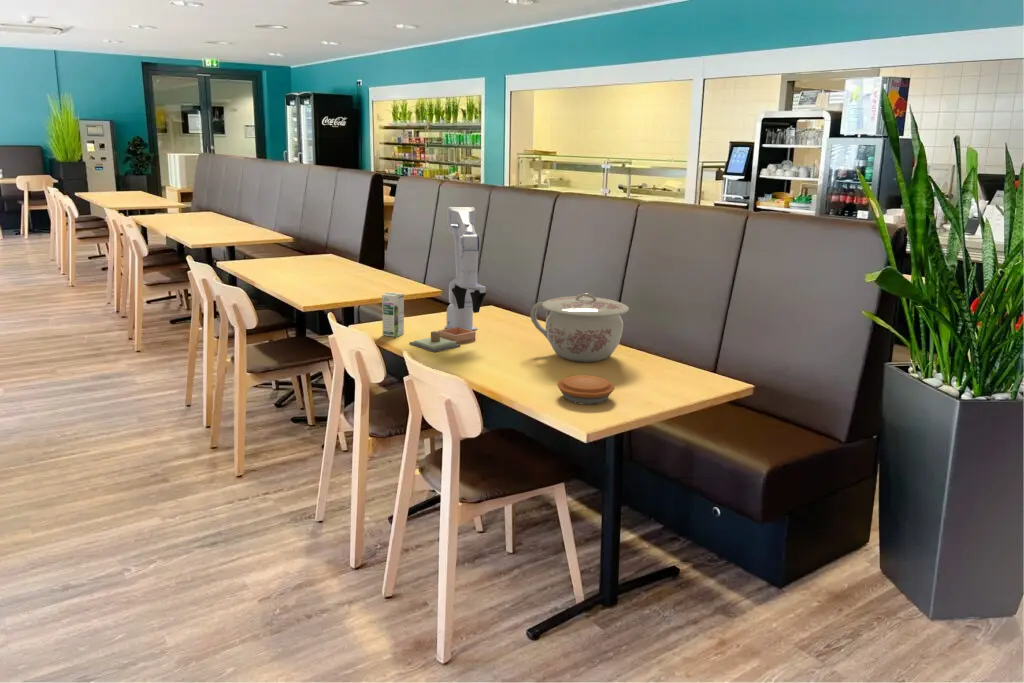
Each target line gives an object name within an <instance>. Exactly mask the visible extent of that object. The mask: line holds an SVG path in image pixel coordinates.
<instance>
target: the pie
mask: <svg viewBox="0 0 1024 683" xmlns="http://www.w3.org/2000/svg"><path fill="white" fill-rule="evenodd" d="M556 385H557V387H558V389H559V390H560V392H561V394H562V396H563V397H564V398H566V399H567V400H566V399H565V400H566V401H568V400H569V401H568V402H570V401H572V402H571V403H573V402H576V403H575V404H578V403H583V404H582V405H590V404H592V405H595V404H594V403H599V404H602V403H604V402H606V401H607V399H608V398H609V397H610V395H611V394H612V393H613V392H614V390H615V385H614V383H612V382H611V381H608V380H607V379H606V378H604V377H603V378H602V377H599V376H595V375H586V374H578V375H571V376H567V377H565V378H563V379H560V380H558V381H557V383H556ZM601 402H602V403H601Z"/></svg>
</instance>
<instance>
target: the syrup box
mask: <svg viewBox="0 0 1024 683" xmlns="http://www.w3.org/2000/svg"><path fill="white" fill-rule="evenodd" d="M404 295H405V294H404V293H400V292H399V293H398V292H390V291H389V292H385V293H383V294H382V297H381V298H382V299H381V300H382V302H381V303H382V304H381V308H382V309H381V310H382V336H383V335H385V336H384V337H386V336H387V337H391V338H392V337H393V338H398V337H400V336H402V335H403V334H405V312H404V311H405V308H404V307H405V301H404V300H405V296H404Z"/></svg>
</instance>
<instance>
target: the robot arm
mask: <svg viewBox="0 0 1024 683" xmlns="http://www.w3.org/2000/svg"><path fill="white" fill-rule="evenodd" d="M446 222H447V223H446V227H447V228H446V229H447V231H448V233H450V234H452V237H453V241H454V256H455V258H454V260H455V261H454V262H455V278H453V279H452V280H451V281H450V282H449V284H448V303H450V304H449V305H448V306H447V308H446V325H445V326H444V329H449V328H455V327H460V328H464V329H468V330H471V331H475V330H478V328H479V327H476V326H474V324H473V323H474V321H473V320H474V319H473V318H474V314H477V313H480V309H481V306H482V303H483V301H484V298H486V295H487V292H486V291H487V288H486V286H484V285H482V284H480V283H478V280H479V279H478V274H479V273H478V270H479V269H478V268H479V267H478V266H479V252H480V250H481V237H480V235H479V233H476V230H475V223H476V208H475V207H474V206H470V207H468V206H467V207H466V206H465V207H464V206H462V207H460V206H448V207H447V210H446Z"/></svg>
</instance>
